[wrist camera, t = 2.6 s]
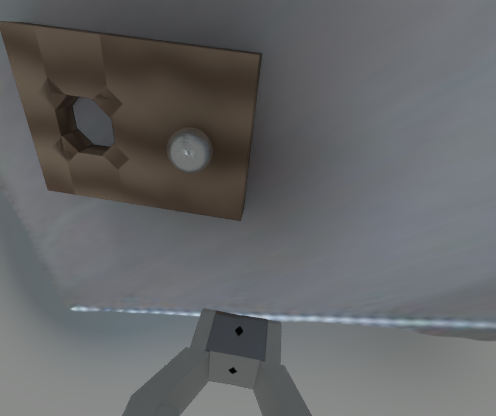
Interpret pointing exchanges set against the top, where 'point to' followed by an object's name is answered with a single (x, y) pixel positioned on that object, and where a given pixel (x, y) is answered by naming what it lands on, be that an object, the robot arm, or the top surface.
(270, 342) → the robot arm
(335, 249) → the top surface
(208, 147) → the steel ball
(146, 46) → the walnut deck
